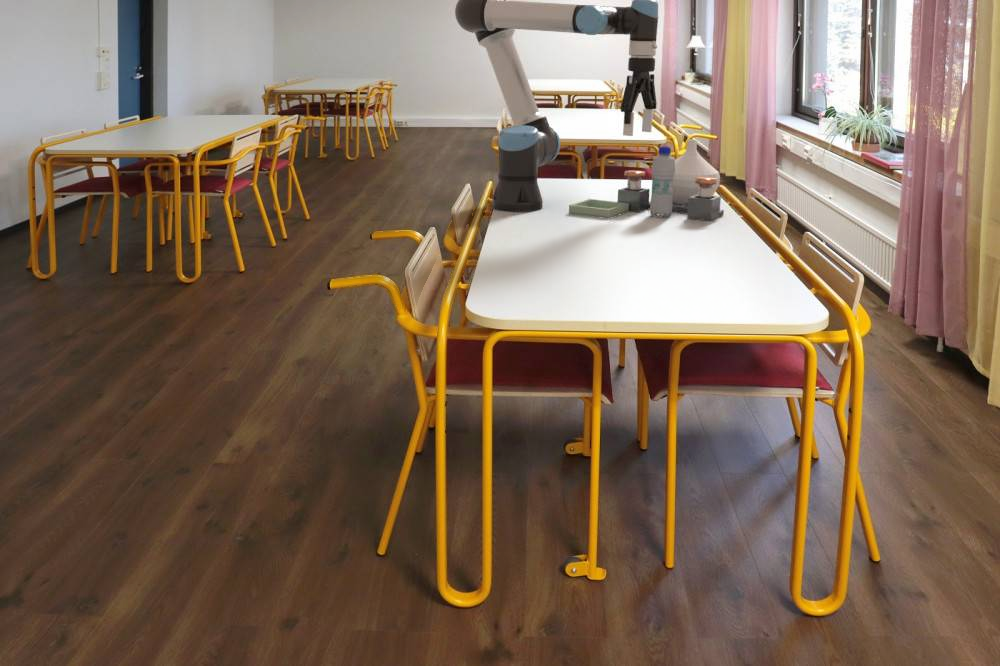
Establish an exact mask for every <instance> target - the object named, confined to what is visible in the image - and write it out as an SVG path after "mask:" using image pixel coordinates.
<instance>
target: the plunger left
mask: <svg viewBox="0 0 1000 666" xmlns="http://www.w3.org/2000/svg"><path fill="white" fill-rule="evenodd" d="M624 177H627V182H626V183H627V185H626V187H627V190H629V191H641V188H642V178H644V177H645V178H646V171H643V170H633V169H631V170H624Z"/></svg>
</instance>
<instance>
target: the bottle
mask: <svg viewBox="0 0 1000 666" xmlns="http://www.w3.org/2000/svg"><path fill="white" fill-rule="evenodd" d="M671 151H672V149H671V147H669V146H668V145H667V146H665V145H662V146H660V147H659V148H658V155H656V156H655V157H653V160H652V161H653V162H652V166H651V175H652V178H651V179H652V180H651V195H650V202H651V203H650V209H649V212H650V215H651V216H652V217H653V218H656V217H657V216H658V218H659V219H660V218H662V217H664V218H665V219H666V218H668V217H670V216H671V215H672V213H673V212H672V205H673V203H672V193H673V177H674V175H675V160H676V159H675V157H673V156H671V153H672V152H671Z"/></svg>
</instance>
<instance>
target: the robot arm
mask: <svg viewBox="0 0 1000 666" xmlns="http://www.w3.org/2000/svg"><path fill="white" fill-rule="evenodd" d="M455 5H456V6H455V9H454V13H455V15H454V17H455V19H456V21H457V23H458V25H459V26H460V27H461V28H462V29H463V30H465V32H469V33H473V34H474V35H475V38H476V41H477V42H478V44H479V46H480V47H481V46H482V47H483V48H485V49H486V52H487V55H488V58H489V61H490V64H491V66H492V69H493V73H494V75H495V77H496V80H497V82H498V85H499V88H500V91H501V93H502V96H503V99H504V101H505V106H506V107H507V110H508V114H509V116H510V119H511V121H512V125H511V126H506V127H504V128H502V129H501V130H500V131H499V134H498V140H497V148H498V150H497V151H498V152H497V153H498V155H497V157H498V158H497V159H498V160H497V161H498V163H497V169H498V170H497V180H498V181H497V184H496V186H495V189H494V193H493V196H492V199H491V208H493V209H495V210H499V211H507V212H533V211H538V210H541V209H543V206H544V205H543V204H544V203H543V202H544V201H543V197H542V194H541V191H540V187H539V183H538V168H539V167H543V166H544V167H545V166H547V165H548V164H550V163H551V162H553V161H554V160H555V159H556V158H557V156H558V155H559V152H560V151H561V139H560V138H561V137H560V135H559V133H558V132H557V131H556V129H554V128H553V127H551V126H550V123H549V121H548V118H547V116H546V115H544V114H542V113H541V112H540V111H539V108H538V105H537V102H536V99H535V97H534V94H533V92H532V89H531V86H530V83H529V79H528V78H527V75H526V72H525V69H524V67H523V64H522V62H521V58H520V56H519V53H518V50H517V47H516V45H515V42H514V39H513V36H514V33H515V30H525V31H526V30H528V31H539V32H541V31H542V32H552V33H553V32H555V33H567V34H568V33H569V34H580V35H581V34H582V35H583V34H584V35H588V36H596V35H626V36H627V35H629V43H628V44H629V45H628V46H629V47H628V55H629V56H630V57H629V58H628V62H627V63H628V65H627V66H628V68H627V70H628V71H630V72H632V75H627V77H626V83H625V89H624V93H623V96H622V101H621V104H620V112H621V113H623V115H624V116H623V130H622V136H624V137H625V136H626V137H627V136H629V137H633V136H634V123H635V122H634V120H635V112H634V108H635V106H636V102H637V100H638V98H639V95H640V94H641V98H642V102H643V106H644V108H643V110H642V124H641V132H643V133H651V132H652V126H653V112H654V111H653V110H656V109H657V104H658V103H657V97H656V87H655V86H656V85H655V74H653V73H652V72H655V70H656V69H655V66H656V59H655V58H654V57H655V56H656V52H657V51H656V49H657V48H658V45H657V35H658V23H659V2H658V1H657V0H632V1H631V5H630V6H605V5H603V6H602V5H594V4H575V3H574V4H571V3H555V2H554V3H553V2H540V1H539V2H536V1H523V0H522V1H521V0H458V1H457V2H456V4H455ZM650 72H651V73H652V74H651V73H650Z"/></svg>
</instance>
